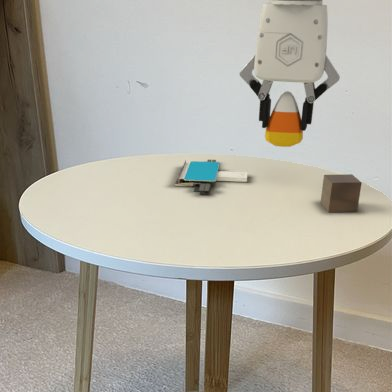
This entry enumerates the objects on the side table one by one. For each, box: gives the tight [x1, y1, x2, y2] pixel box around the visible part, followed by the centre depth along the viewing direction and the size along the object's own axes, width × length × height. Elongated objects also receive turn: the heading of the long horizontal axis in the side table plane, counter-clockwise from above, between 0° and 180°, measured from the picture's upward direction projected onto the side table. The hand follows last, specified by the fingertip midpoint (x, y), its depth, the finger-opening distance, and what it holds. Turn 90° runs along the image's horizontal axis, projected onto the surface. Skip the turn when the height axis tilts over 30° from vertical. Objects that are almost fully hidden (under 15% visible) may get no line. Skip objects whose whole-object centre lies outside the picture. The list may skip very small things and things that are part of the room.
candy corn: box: [264, 90, 304, 148], centre depth 93 cm, size 6×3×8 cm, turn 82°
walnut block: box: [320, 173, 363, 213], centre depth 90 cm, size 4×4×4 cm
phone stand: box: [174, 159, 248, 196], centre depth 103 cm, size 20×12×2 cm, turn 175°
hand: (284, 126), depth 94 cm, fingers closed on candy corn, 5 cm apart
